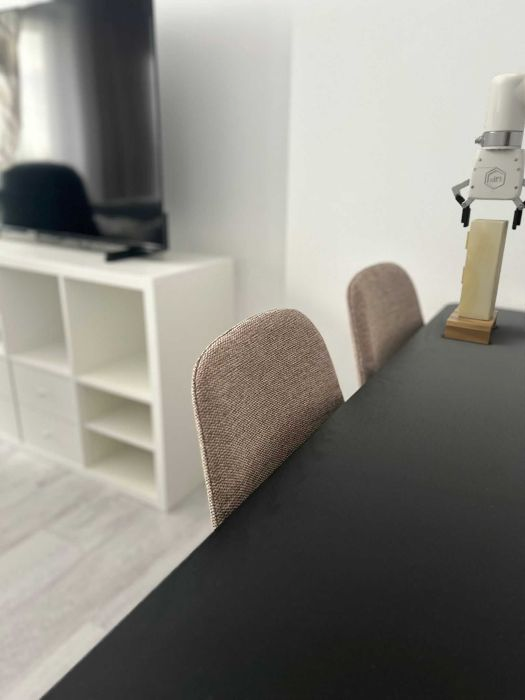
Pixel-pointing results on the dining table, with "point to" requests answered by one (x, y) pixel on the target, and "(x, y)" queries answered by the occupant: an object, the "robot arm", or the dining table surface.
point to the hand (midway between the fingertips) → (489, 228)
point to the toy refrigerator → (482, 268)
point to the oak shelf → (470, 328)
